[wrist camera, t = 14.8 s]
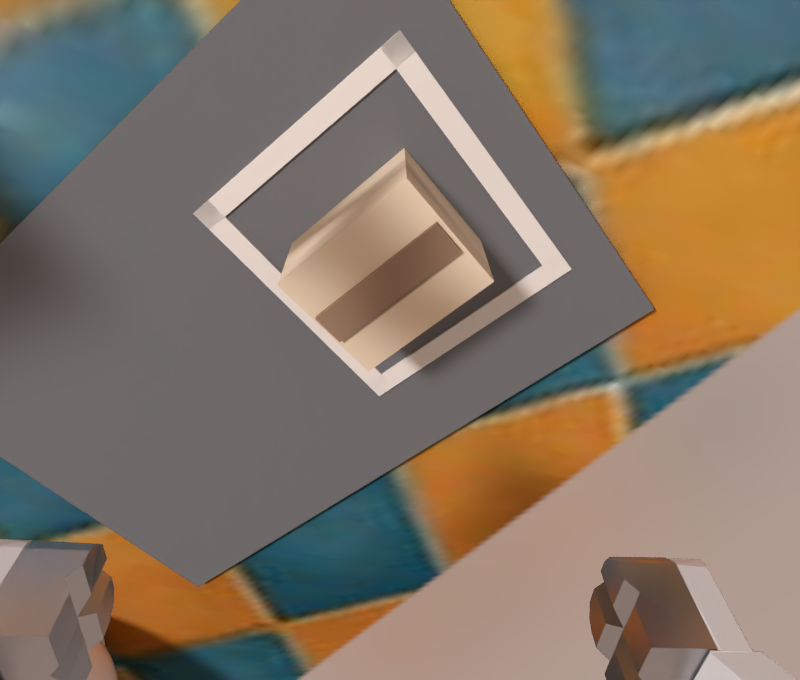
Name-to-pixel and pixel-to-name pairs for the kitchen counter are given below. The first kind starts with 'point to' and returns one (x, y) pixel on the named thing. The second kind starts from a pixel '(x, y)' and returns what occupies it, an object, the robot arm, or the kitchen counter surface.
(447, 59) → the rubber mat
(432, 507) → the kitchen counter surface
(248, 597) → the kitchen counter surface
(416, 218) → the taped cardboard box
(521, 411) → the kitchen counter surface
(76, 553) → the robot arm
